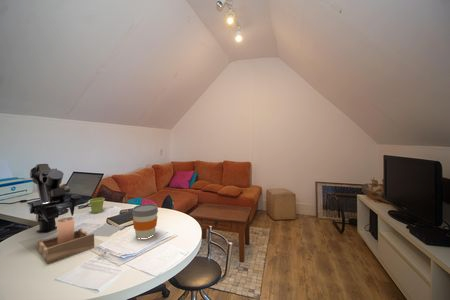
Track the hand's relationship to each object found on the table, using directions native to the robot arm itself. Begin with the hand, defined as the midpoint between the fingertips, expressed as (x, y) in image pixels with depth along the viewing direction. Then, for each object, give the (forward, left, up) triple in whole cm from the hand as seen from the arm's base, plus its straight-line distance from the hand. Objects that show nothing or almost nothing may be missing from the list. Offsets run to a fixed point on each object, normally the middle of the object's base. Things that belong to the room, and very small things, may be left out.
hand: (60, 218), depth 92 cm
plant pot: (-18, +44, -13) cm, 49 cm away
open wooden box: (+6, -3, -13) cm, 15 cm away
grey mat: (+11, +16, -13) cm, 23 cm away
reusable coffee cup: (+34, +15, -13) cm, 39 cm away
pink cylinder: (+6, -3, -12) cm, 14 cm away
